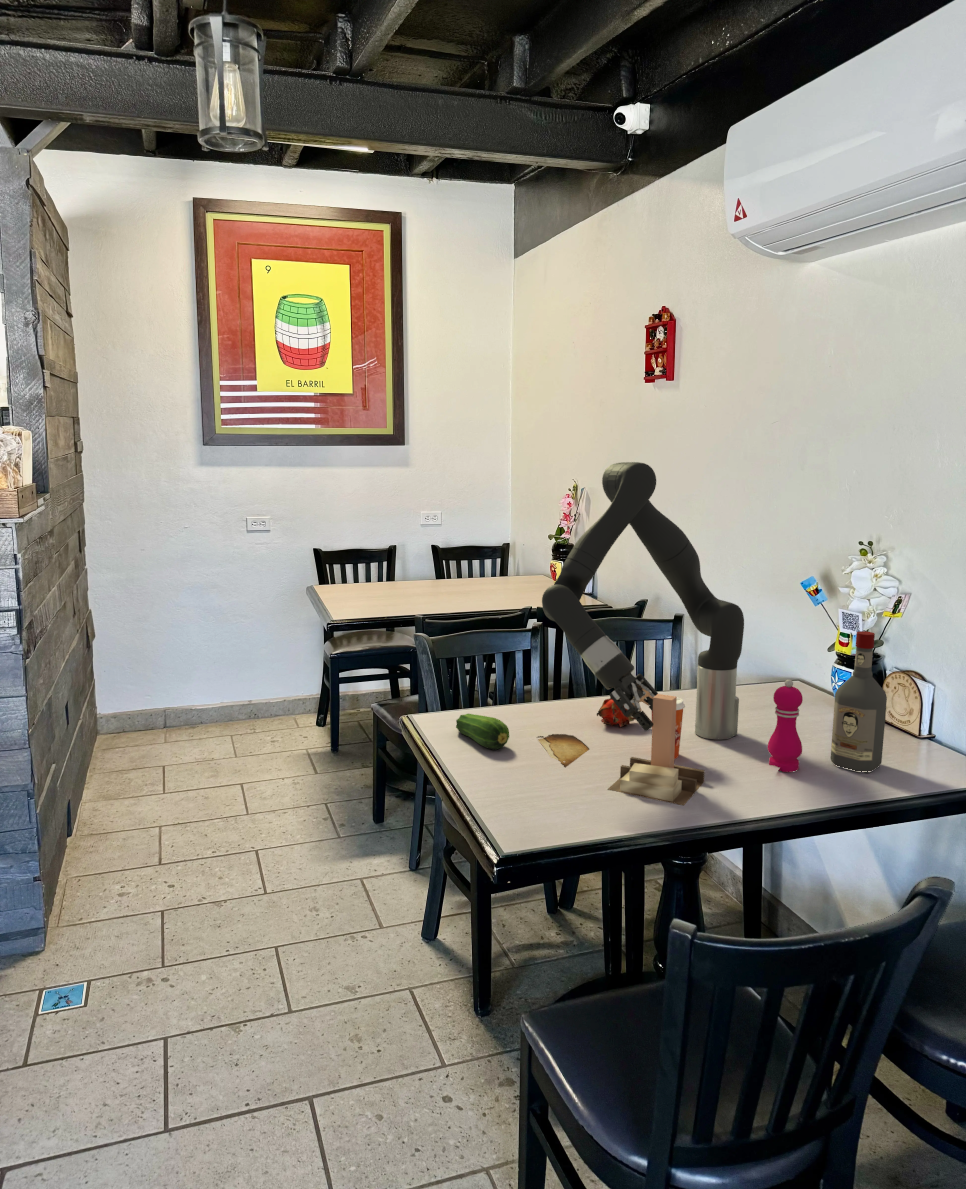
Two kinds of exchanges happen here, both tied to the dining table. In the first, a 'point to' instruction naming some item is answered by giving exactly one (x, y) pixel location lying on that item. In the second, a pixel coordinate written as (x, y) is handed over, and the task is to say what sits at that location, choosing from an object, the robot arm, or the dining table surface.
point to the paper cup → (678, 725)
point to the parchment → (563, 747)
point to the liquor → (859, 713)
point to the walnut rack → (687, 775)
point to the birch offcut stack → (652, 781)
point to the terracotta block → (663, 730)
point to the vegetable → (484, 730)
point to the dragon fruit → (613, 714)
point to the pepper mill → (786, 729)
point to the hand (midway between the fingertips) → (657, 722)
